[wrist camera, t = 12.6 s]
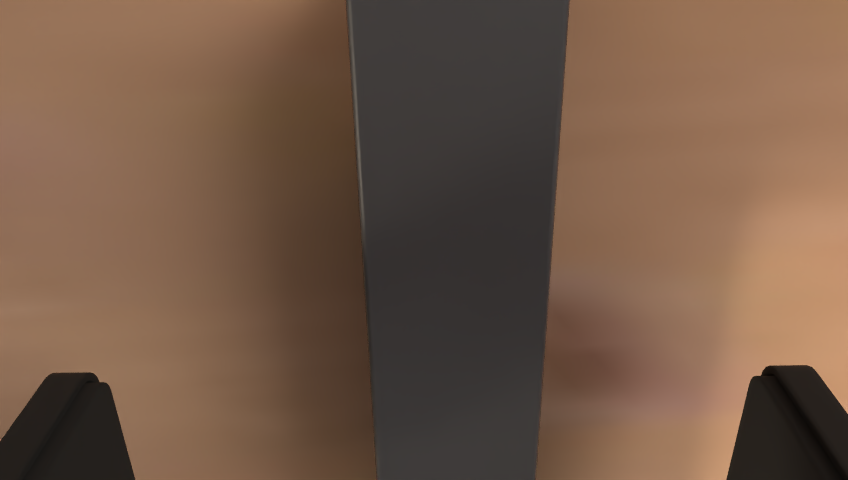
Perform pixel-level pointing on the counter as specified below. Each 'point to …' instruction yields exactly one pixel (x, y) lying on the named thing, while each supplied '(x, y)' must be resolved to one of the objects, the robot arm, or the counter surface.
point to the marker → (457, 226)
